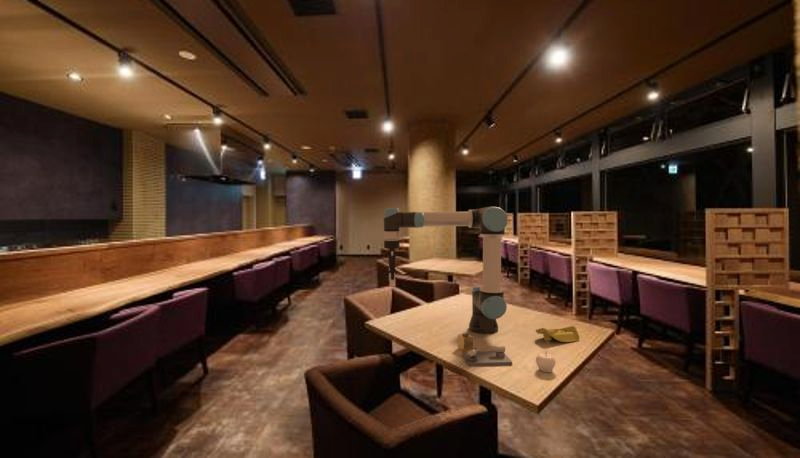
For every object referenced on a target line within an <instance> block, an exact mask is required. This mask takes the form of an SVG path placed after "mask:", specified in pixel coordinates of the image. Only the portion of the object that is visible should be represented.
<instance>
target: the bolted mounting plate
mask: <svg viewBox="0 0 800 458" xmlns="http://www.w3.org/2000/svg"><path fill="white" fill-rule="evenodd" d="M490 350H491V351H488V350H487V351H485V350H483V351H480V354H479V355H476V356H475V357H477V361H475V362H471V361H468V360H466V356H467V354H466V353H467V352H463V351H461V356H462V357H463V359H464V360H465V363H466V364H467V366H468V367H480V366H482V367H484V366H513V361H512V359H510V358H509V356H508V355H507V354H506V353H505V352H506V347H505V345H491V347H490Z"/></svg>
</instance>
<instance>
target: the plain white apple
mask: <svg viewBox="0 0 800 458" xmlns="http://www.w3.org/2000/svg"><path fill="white" fill-rule="evenodd" d="M535 363H536V365H537V367H538V370H539V371H540V372H543V373H551V372H552V371H553V369H554V367H555V366H556V359H555V357H554V356H553V355H551V354H549V353H548V349H547V350H546V351H545V353H544V352H542V353H538V354H537V355H536V357H535Z"/></svg>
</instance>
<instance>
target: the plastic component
mask: <svg viewBox="0 0 800 458" xmlns="http://www.w3.org/2000/svg"><path fill="white" fill-rule="evenodd" d="M535 332H536V333H537V334H538V335H543V339H544V342H547V341H548V342H550V341H552V340H553V339H554V340H556V341H558V342H561V343H573V342H579V341H580V334H579V332H578V330H577V328H576V326H574V325H571V326H567V327H563V328H554V329H547V328H545V327H540V328H537V329H535ZM552 338H553V339H552Z"/></svg>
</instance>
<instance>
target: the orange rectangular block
mask: <svg viewBox="0 0 800 458" xmlns="http://www.w3.org/2000/svg"><path fill="white" fill-rule="evenodd" d="M457 343H458V344H457V349H458V350H459V351H461V352H467V351H470V350H473V349H474V335H473V336H472V335H471V334H469V333H465V332H463V333H460V334H457Z"/></svg>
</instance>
